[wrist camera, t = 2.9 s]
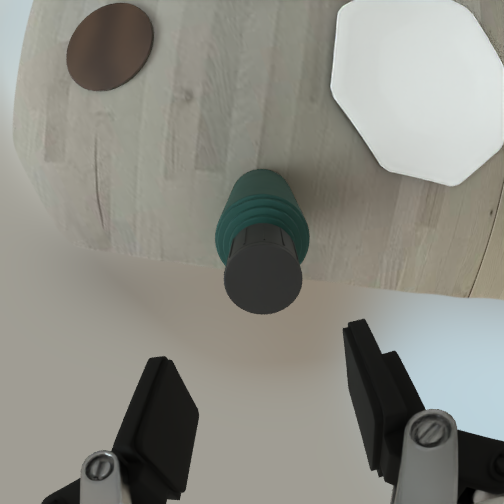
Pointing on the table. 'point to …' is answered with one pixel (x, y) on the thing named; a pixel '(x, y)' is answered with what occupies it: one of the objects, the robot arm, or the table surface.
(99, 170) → the table surface
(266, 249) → the cap
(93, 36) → the lid
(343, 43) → the plate
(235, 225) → the bottle
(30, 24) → the table surface
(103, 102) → the table surface
